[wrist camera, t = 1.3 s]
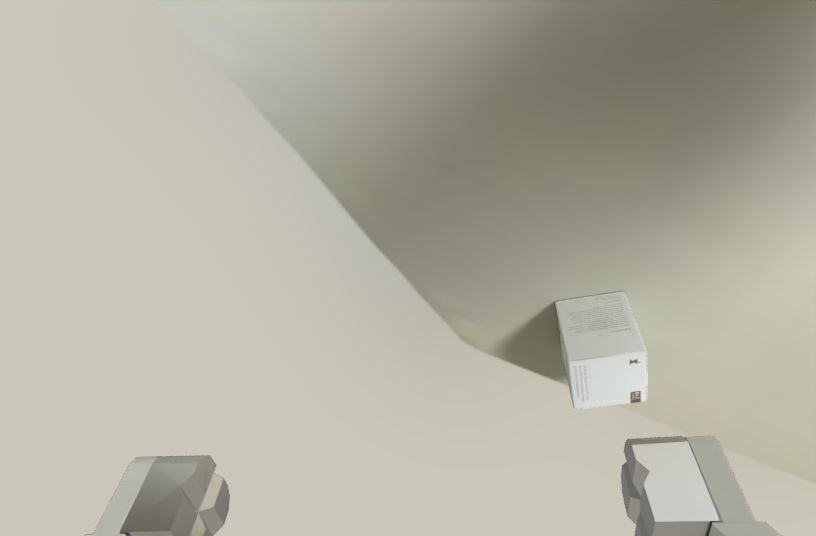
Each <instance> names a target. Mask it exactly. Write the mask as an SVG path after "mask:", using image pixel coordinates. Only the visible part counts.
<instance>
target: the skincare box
mask: <svg viewBox="0 0 816 536" xmlns="http://www.w3.org/2000/svg"><path fill="white" fill-rule="evenodd" d="M555 306H556V311H557V316H558V322H559V329H560V342H561V351H562V356H563V360H564V365H565V370H566V374H567V379H568V384H569V389H570V394H571V398H572V402H573V407H574V408H575V409H583V408H593V407H601V406H608V405H618V404H627V403H635V402H644V401H646V400H647V382H648V372H647V352H646V349H645V346H644V343H643V340H642V338H641V335H640V332H639V329H638V326H637V324H636V321H635V318H634V315H633V313H632V310H631V307H630V305H629V302H628V299H627V296H626V294H625V292H624V291H621V292H614V293H607V294H601V295H594V296H588V297H581V298H574V299H568V300H562V301H557V302H556V303H555Z"/></svg>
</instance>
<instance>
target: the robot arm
mask: <svg viewBox="0 0 816 536" xmlns="http://www.w3.org/2000/svg"><path fill="white" fill-rule="evenodd" d="M624 453H625V457H626V460H627V462H626V463H624V464H623V465H622V472H621V483H622V493H623V498H624V504H625V508H626V512H627V516H628V517H629V518H630V519H631V520H632V521H633V522H634V523H635V524H636V530H635V536H782V535H781V534H780V533H778V532H777V531H776V530H775V529H773V528H772V527H771V526H770V525H769V524H768V523H766V522H756V521H755V518H754V516H753V514H752V512H751V509H750V507H749V505H748V503H747V501H746V499H745V496H744V494H743V492H742V490H741V488H740V486H739V483H738V481H737V479H736V477H735V475H734V472H733V470H732V468H731V466H730V464H729V461H728V459H727V457H726V455H725V453H724V451H723V448H722V446H721V444H720V442H719V441H718V440H717V439H716V438H715V437H714V436H711V435H710V436H693V437H682V436H675V437H657V438H656V437H655V438H637V439H627V440H626V442H625V447H624ZM215 467H216V464H215V462H214V461H213V459H212V458H211V456H167V457H166V456H165V457H162V456H156V457H137V458H136V459H135V460H134V461H132V462H131V463H130V465H129V466H128V468H127V470H126V472H125V474H124V476H123V477H122V479H121V481H120V483H119V485H118V487H117V489H116V491H115V493H114V495H113V497H112V498H111V500H110V502H109V504H108V506H107V508H106V510H105V512H104V514H103V515H102V517H101V519H100V521H99V523H98V525H97V527H96V529H95V531H94V533H93V534H86V535H85V536H213V535H214V534H215V533H216V532H217V531H218V530H219V529H220V528H221V527H222V526H223V525H224V523H225V520H226V517H227V513H228V510H229V496H230V495H229V490H228V485H227V484H226V481H225V480H224V478H223V477H221V476H219V475H217V474H216V473H214V470H215Z"/></svg>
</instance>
